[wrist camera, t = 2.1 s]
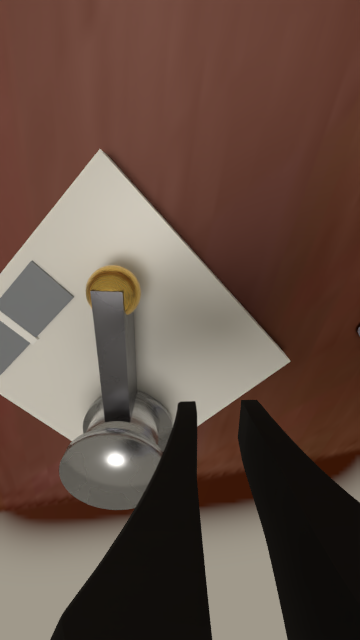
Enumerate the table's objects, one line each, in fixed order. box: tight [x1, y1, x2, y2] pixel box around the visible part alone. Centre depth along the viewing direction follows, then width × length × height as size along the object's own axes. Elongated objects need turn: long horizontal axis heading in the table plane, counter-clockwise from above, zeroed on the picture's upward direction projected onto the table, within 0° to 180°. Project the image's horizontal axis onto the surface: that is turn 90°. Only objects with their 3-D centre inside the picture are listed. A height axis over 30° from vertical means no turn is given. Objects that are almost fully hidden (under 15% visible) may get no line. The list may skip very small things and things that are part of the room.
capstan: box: [59, 265, 173, 510], centre depth 16 cm, size 17×7×5 cm, turn 178°
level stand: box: [0, 149, 290, 441], centre depth 19 cm, size 18×18×2 cm
